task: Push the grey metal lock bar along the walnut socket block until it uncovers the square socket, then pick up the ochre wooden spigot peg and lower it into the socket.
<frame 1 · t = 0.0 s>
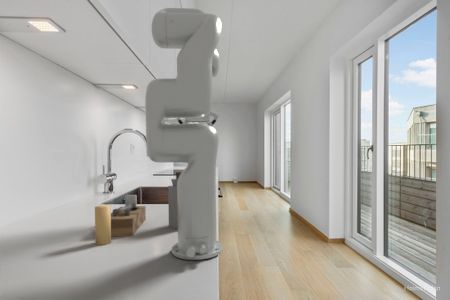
hand: (197, 136, 115), 31 cm above the worktop, tool pointing down, fingers open, 9 cm apart
socket block: (126, 227, 93), on the worktop
perfume bottle: (183, 226, 94), on the worktop
spigot peg: (103, 242, 77), on the worktop
lock pin: (127, 204, 95), point 7 cm above the worktop, slide at 0.0 cm
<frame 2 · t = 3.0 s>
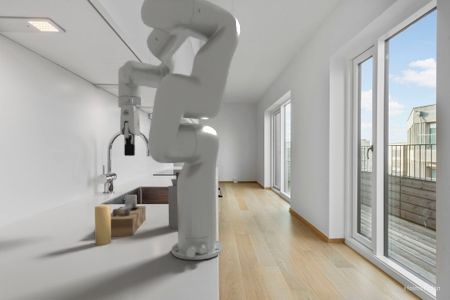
hand: (129, 155, 98), 24 cm above the worktop, tool pointing down, fingers closed
nothing on the worktop moved.
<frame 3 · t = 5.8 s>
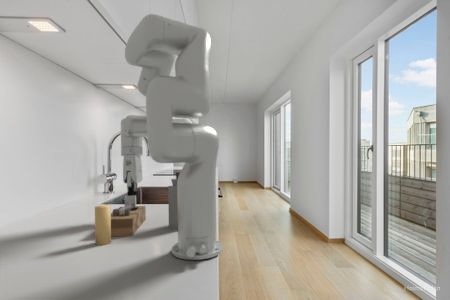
hand: (132, 201, 103), 7 cm above the worktop, tool pointing down, fingers closed
lock pin: (126, 204, 95), point 7 cm above the worktop, slide at 0.8 cm, touching gripper
everything else where it was.
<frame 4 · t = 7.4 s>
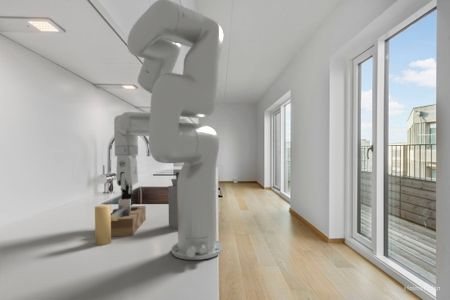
hand: (127, 205, 95), 7 cm above the worktop, tool pointing down, fingers closed
lock pin: (120, 208, 87), point 7 cm above the worktop, slide at 8.5 cm, touching gripper
everything else where it was.
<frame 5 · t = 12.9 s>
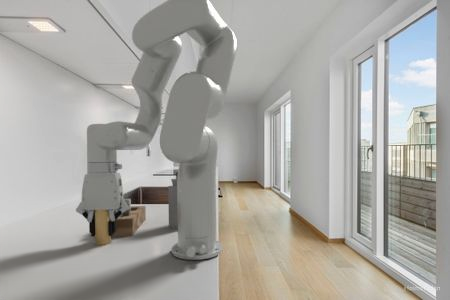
hand: (103, 234, 77), 2 cm above the worktop, tool pointing down, fingers closed on spigot peg, 4 cm apart
spigot peg: (103, 242, 77), on the worktop, touching gripper
lock pin: (119, 209, 87), point 7 cm above the worktop, slide at 8.7 cm
everything else where it was.
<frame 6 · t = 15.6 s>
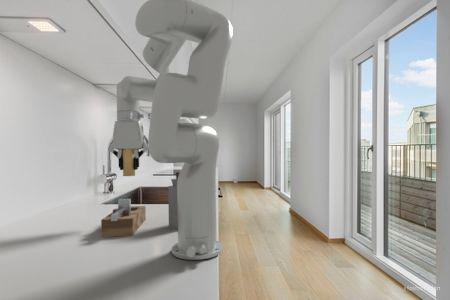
hand: (129, 169, 98), 19 cm above the worktop, tool pointing down, fingers closed on spigot peg, 4 cm apart
spigot peg: (129, 175, 98), point 17 cm above the worktop, touching gripper
everything else where it was.
when the fingers open (5 cm above the worktop, at t = 18.4 s): spigot peg drops 3 cm, resting in socket block.
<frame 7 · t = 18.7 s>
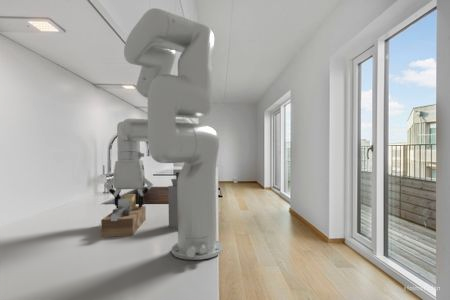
hand: (129, 206, 98), 6 cm above the worktop, tool pointing down, fingers open, 7 cm apart
spigot peg: (129, 223, 98), resting in socket block
everything else where it was.
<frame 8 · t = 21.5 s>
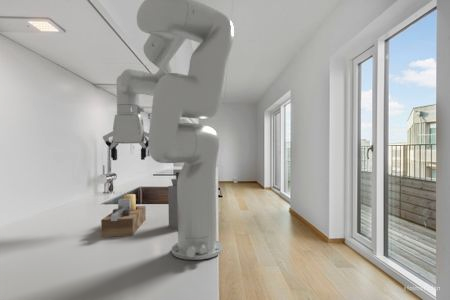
hand: (128, 159, 98), 22 cm above the worktop, tool pointing down, fingers open, 9 cm apart
nothing on the worktop moved.
at the end: lock pin slide at 8.7 cm; spigot peg 0.1 cm from the target spot on the socket block, point 0.0 cm above the socket block's base; spigot peg tilted 0° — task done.
